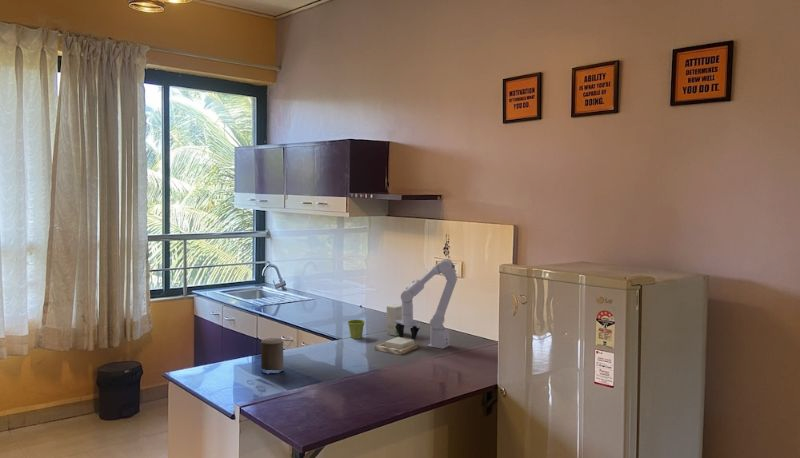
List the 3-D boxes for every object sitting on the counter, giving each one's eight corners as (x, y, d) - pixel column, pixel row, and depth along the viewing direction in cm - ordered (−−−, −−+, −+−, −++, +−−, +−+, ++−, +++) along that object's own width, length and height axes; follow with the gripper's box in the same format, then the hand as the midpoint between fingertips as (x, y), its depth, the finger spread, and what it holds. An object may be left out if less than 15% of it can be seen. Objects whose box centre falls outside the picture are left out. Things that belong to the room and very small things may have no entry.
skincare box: (395, 336, 319) (395, 307, 318) (385, 334, 323) (385, 306, 322) (404, 333, 326) (404, 305, 324) (395, 331, 330) (395, 303, 329)
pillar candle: (261, 375, 255) (261, 341, 254) (260, 368, 265) (260, 335, 263) (284, 373, 258) (284, 339, 257) (282, 366, 267) (282, 334, 266)
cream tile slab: (414, 346, 298) (414, 339, 298) (401, 351, 290) (401, 344, 289) (398, 343, 304) (398, 336, 304) (385, 348, 295) (385, 341, 295)
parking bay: (417, 347, 296) (417, 344, 295) (400, 354, 284) (400, 350, 284) (392, 343, 305) (391, 339, 305) (374, 349, 293) (374, 345, 293)
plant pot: (366, 335, 322) (366, 319, 321) (363, 339, 312) (363, 323, 312) (349, 335, 323) (349, 319, 322) (346, 339, 313) (345, 323, 313)
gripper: (423, 313, 300) (423, 340, 301) (400, 310, 309) (400, 336, 310) (415, 316, 294) (415, 343, 296) (392, 312, 303) (392, 338, 304)
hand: (407, 339), depth 302 cm, fingers open, 7 cm apart
